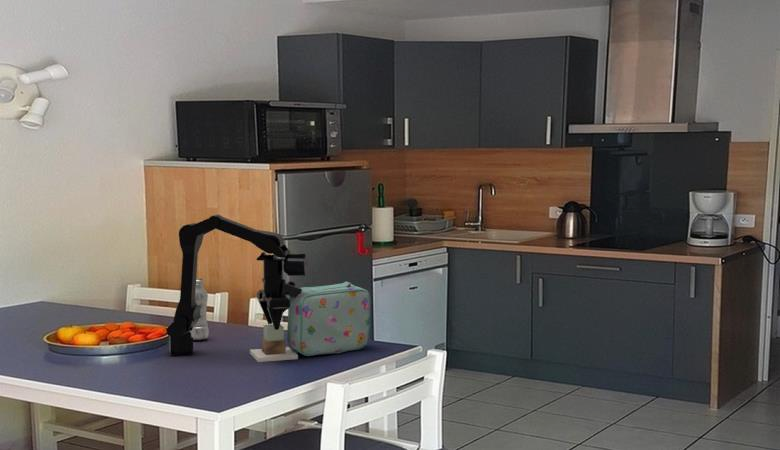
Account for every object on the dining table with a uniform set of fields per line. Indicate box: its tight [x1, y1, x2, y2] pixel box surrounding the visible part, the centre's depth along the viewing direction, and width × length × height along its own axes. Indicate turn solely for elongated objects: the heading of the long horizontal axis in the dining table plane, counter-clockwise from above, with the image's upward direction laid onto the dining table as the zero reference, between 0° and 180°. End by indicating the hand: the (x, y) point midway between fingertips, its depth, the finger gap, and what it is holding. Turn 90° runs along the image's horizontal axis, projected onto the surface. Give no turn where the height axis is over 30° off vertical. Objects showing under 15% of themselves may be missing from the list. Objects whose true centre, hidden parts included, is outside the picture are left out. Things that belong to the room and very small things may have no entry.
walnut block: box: [261, 337, 287, 355], centre depth 278 cm, size 6×6×4 cm
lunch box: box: [286, 281, 372, 357], centre depth 284 cm, size 27×10×21 cm, turn 126°
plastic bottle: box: [190, 278, 210, 341], centre depth 300 cm, size 6×7×20 cm
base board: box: [249, 346, 299, 363], centre depth 278 cm, size 12×12×1 cm
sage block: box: [262, 324, 285, 341], centre depth 277 cm, size 5×5×4 cm
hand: (273, 326), depth 277 cm, fingers open, 9 cm apart
